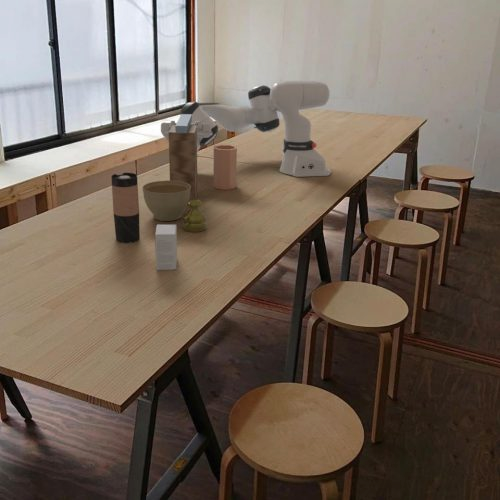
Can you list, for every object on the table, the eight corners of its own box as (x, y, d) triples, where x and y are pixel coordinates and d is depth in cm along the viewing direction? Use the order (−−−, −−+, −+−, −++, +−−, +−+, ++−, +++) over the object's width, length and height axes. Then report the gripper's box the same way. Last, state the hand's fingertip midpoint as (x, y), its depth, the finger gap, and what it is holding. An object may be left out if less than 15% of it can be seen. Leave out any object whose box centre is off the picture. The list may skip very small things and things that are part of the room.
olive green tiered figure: (197, 234, 187) (197, 204, 183) (178, 229, 190) (178, 199, 187) (210, 227, 193) (210, 198, 189) (192, 223, 196) (192, 194, 192)
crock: (236, 183, 241) (236, 145, 235) (236, 190, 233) (236, 150, 227) (214, 183, 241) (214, 144, 235) (213, 189, 233) (213, 149, 227)
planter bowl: (198, 213, 206) (198, 183, 202) (178, 227, 192) (178, 195, 188) (157, 207, 211) (156, 177, 207) (134, 221, 197) (133, 189, 193)
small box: (157, 258, 168) (156, 224, 164) (177, 258, 168) (176, 223, 164) (155, 270, 161) (154, 234, 157) (176, 270, 161) (175, 234, 157)
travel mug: (134, 244, 177) (131, 180, 170) (111, 242, 179) (106, 178, 171) (144, 235, 184) (141, 173, 177) (121, 233, 186) (117, 171, 178)
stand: (197, 192, 228) (196, 125, 219) (195, 203, 215) (194, 132, 206) (174, 192, 228) (172, 124, 218) (170, 203, 215) (168, 132, 205)
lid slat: (181, 120, 227) (181, 114, 226) (191, 120, 227) (191, 114, 226) (175, 132, 204) (175, 125, 204) (187, 133, 205) (186, 126, 204)
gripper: (212, 142, 244) (211, 131, 230) (163, 141, 243) (158, 130, 230) (213, 128, 245) (211, 116, 231) (163, 126, 244) (159, 114, 231)
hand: (184, 122), depth 230 cm, fingers open, 8 cm apart
